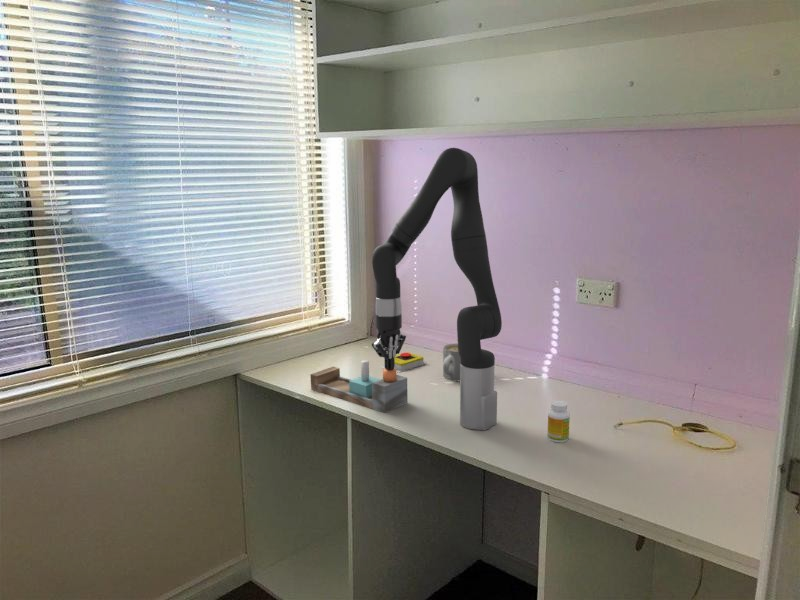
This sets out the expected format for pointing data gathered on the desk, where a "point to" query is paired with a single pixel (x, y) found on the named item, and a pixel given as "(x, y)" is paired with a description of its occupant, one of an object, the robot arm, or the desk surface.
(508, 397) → the desk surface
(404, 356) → the emergency button
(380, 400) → the rail
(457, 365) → the coffee mug
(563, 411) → the supplement bottle
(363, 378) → the carriage
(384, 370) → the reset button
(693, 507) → the desk surface
